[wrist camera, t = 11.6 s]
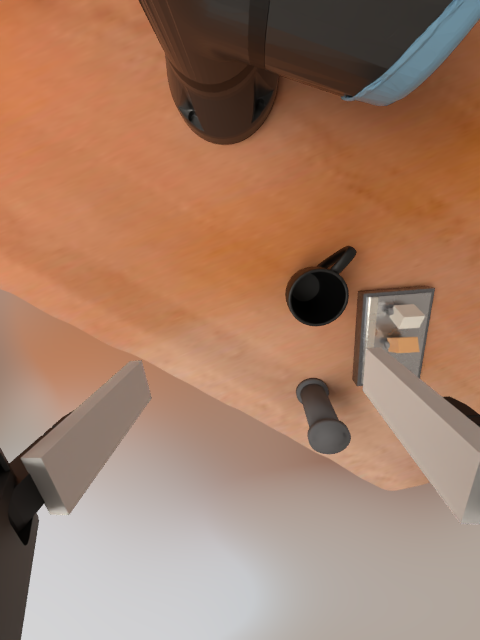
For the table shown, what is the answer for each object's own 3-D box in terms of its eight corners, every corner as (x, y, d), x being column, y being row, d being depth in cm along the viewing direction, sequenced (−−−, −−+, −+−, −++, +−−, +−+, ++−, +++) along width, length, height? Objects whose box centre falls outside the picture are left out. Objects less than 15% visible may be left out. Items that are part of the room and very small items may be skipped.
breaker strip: (357, 291, 39) (365, 294, 36) (425, 285, 38) (437, 288, 35) (352, 379, 44) (358, 387, 42) (411, 377, 43) (421, 385, 41)
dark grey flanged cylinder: (295, 378, 45) (308, 422, 34) (327, 377, 45) (351, 421, 33) (296, 404, 47) (308, 454, 36) (327, 403, 47) (349, 454, 35)
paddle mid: (383, 337, 39) (395, 338, 35) (405, 336, 38) (419, 336, 35) (384, 351, 38) (397, 353, 35) (406, 350, 38) (421, 352, 35)
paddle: (390, 303, 36) (401, 317, 33) (413, 301, 35) (427, 315, 33) (385, 314, 37) (396, 329, 35) (408, 313, 37) (421, 327, 34)
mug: (353, 263, 38) (383, 268, 29) (307, 317, 41) (321, 337, 32) (316, 234, 37) (334, 229, 28) (272, 292, 40) (276, 305, 31)
